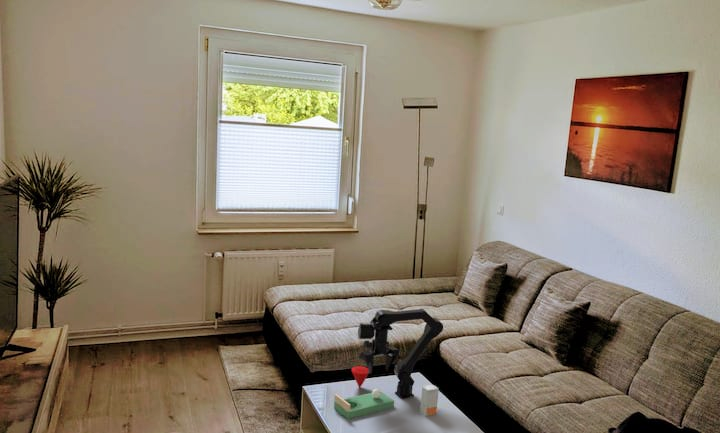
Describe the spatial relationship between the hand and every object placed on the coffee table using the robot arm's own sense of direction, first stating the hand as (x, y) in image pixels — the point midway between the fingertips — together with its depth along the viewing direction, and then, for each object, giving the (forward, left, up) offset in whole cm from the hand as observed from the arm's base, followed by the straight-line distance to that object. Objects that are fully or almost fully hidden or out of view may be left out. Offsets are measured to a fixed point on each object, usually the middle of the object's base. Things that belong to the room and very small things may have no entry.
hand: (378, 371), depth 255 cm
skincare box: (-11, +23, -12) cm, 28 cm away
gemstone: (+2, -11, -12) cm, 17 cm away
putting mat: (+11, +6, -12) cm, 17 cm away
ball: (+4, +6, -5) cm, 9 cm away
